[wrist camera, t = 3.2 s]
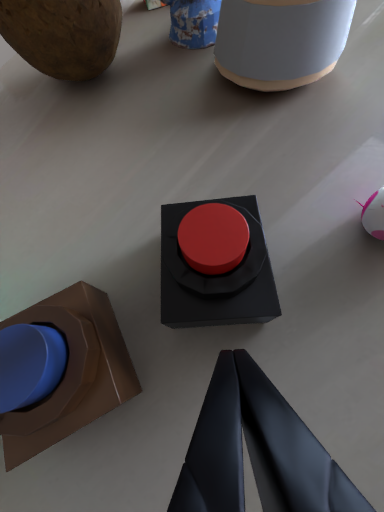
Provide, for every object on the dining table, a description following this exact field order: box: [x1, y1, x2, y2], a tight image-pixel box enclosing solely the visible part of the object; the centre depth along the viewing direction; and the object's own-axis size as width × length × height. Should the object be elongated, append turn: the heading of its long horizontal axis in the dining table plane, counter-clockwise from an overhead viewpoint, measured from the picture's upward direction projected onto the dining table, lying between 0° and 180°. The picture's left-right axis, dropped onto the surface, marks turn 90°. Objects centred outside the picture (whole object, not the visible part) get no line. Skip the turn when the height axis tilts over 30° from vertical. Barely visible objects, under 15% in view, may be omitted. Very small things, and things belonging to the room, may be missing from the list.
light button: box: [178, 203, 249, 275], centre depth 16 cm, size 5×5×2 cm
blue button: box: [0, 324, 68, 414], centre depth 14 cm, size 5×5×2 cm
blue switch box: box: [0, 281, 142, 472], centre depth 17 cm, size 10×8×6 cm
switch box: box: [161, 195, 282, 329], centre depth 19 cm, size 11×9×6 cm
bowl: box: [0, 0, 122, 81], centre depth 33 cm, size 19×19×15 cm
